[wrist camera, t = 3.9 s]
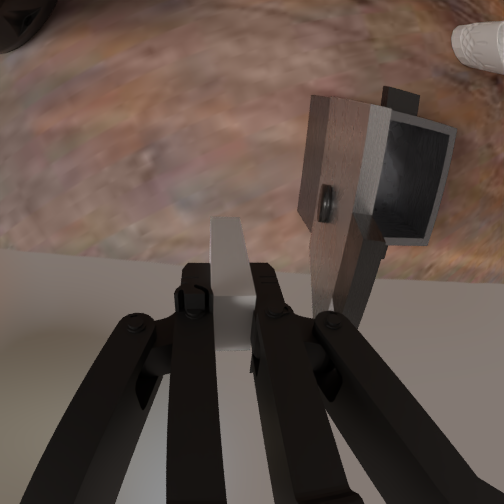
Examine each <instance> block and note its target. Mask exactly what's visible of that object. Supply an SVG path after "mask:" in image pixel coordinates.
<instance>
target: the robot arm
mask: <svg viewBox="0 0 504 504" xmlns="http://www.w3.org/2000/svg"><path fill="white" fill-rule="evenodd" d="M56 2H57V0H0V54H2V53H7V52H10V51H12V50H14V49H16V48H18V47H20V46H21V45H23V44H24V43H25V42H27V41H28V40H29V39H30V38H31V37H32V36H33V35H34V34H35V33H36V32H37V31H38V30H39V29H40V28H41V27H42V25H43V24H44V23H45V21H46V20H47V19H48V17H49V15H50V14H51V12H52V10H53V9H54V7H55V4H56ZM174 298H175V311H176V312H175V313H174V314H173V315H171V316H169V317H167V318H164V319H161V320H156V321H154V319H153V318H151V317H150V316H149V315H147V314H144V313H133V314H129V315H127V316H125V317H123V318H122V319H121V320H120V321H119V323H118V324H117V326H116V327H115V329H114V331H113V332H112V334H111V335H110V337H109V338H108V340H107V342H106V343H105V345H104V346H103V348H102V350H101V351H100V353H99V355H98V356H97V358H96V360H95V361H94V363H93V365H92V366H91V368H90V370H89V371H88V373H87V375H86V377H85V378H84V380H83V381H82V383H81V385H80V387H79V388H78V390H77V392H76V394H75V395H74V397H73V399H72V401H71V402H70V404H69V406H68V408H67V410H66V412H65V413H64V415H63V417H62V419H61V421H60V422H59V425H58V426H57V428H56V430H55V432H54V434H53V436H52V438H51V440H50V442H49V444H48V445H47V447H46V450H45V451H44V453H43V455H42V457H41V459H40V461H39V463H38V465H37V467H36V469H35V471H34V474H33V476H32V478H31V480H30V482H29V484H28V486H27V489H26V491H25V493H24V495H23V497H22V500H21V502H20V504H115V502H116V499H117V496H118V494H119V491H120V488H121V485H122V483H123V480H124V477H125V474H126V472H127V469H128V466H129V463H130V461H131V458H132V455H133V453H134V450H135V447H136V444H137V442H138V439H139V437H140V434H141V432H142V429H143V426H144V424H145V421H146V419H147V416H148V413H149V411H150V409H151V406H152V404H153V401H154V398H155V396H156V393H157V391H158V388H159V386H160V383H161V381H162V378H163V375H165V374H169V373H170V386H169V404H168V425H167V461H166V504H227V499H226V489H225V479H224V469H223V458H222V446H221V434H220V421H219V407H218V392H217V377H216V359H215V351H240V350H241V351H245V350H250V346H252V358H251V367H250V373H253V375H254V382H255V388H256V395H257V401H258V407H259V413H260V420H261V426H262V432H263V438H264V444H265V450H266V456H267V462H268V468H269V474H270V479H271V485H272V491H273V497H274V502H275V504H364V502H363V500H362V498H361V497H360V495H359V494H358V493H356V492H354V491H352V490H351V489H350V487H349V485H348V482H347V479H346V475H345V472H344V468H343V465H342V462H341V459H340V455H339V452H338V449H337V445H336V442H335V439H334V436H333V433H332V430H331V426H330V423H329V420H328V417H327V413H326V411H327V412H328V414H329V416H330V417H331V419H332V420H333V422H334V423H335V425H336V427H337V428H338V430H339V431H340V433H341V434H342V436H343V437H344V439H345V441H346V442H347V444H348V445H349V447H350V448H351V450H352V451H353V453H354V455H355V456H356V458H357V459H358V461H359V462H360V464H361V465H362V467H363V468H364V470H365V471H366V473H367V475H368V476H369V478H370V479H371V481H372V482H373V484H374V485H375V487H376V488H377V490H378V491H379V493H380V494H381V496H382V497H383V499H384V501H385V502H386V504H504V493H503V492H501V491H499V490H497V489H496V488H494V487H493V486H491V485H490V484H488V483H486V482H485V481H483V480H481V479H480V478H478V477H477V476H476V474H475V473H474V472H473V470H472V469H471V468H470V467H469V465H468V464H467V463H466V461H465V460H464V459H463V458H462V456H461V455H460V454H459V452H458V451H457V450H456V449H455V447H454V446H453V445H452V444H451V443H450V441H449V440H448V438H447V437H446V436H445V435H444V433H443V432H442V431H441V430H440V429H439V427H438V426H437V425H436V424H435V422H434V421H433V420H432V419H431V417H430V416H429V415H428V414H427V412H426V411H425V410H424V409H423V408H422V406H421V405H420V404H419V403H418V402H417V400H416V399H415V398H414V397H413V395H412V394H411V393H410V392H409V391H408V389H407V388H406V387H405V386H404V384H403V383H402V382H401V381H400V380H399V378H398V377H397V376H396V375H395V373H394V372H393V371H392V370H391V369H390V368H389V366H388V365H387V364H386V363H385V362H384V361H383V359H382V358H381V357H380V356H379V354H378V353H377V352H376V351H375V350H374V349H373V347H372V346H371V345H370V344H369V343H368V342H367V340H366V339H365V338H364V337H363V336H362V334H361V333H360V332H359V331H358V330H357V329H356V327H355V326H354V325H353V324H352V323H351V322H350V320H349V319H348V318H347V317H345V316H344V315H343V314H341V313H339V312H336V311H323V312H320V313H318V315H317V316H316V317H315V319H311V318H306V317H302V316H298V315H296V314H294V312H293V310H292V309H291V307H290V306H288V305H287V304H286V303H285V301H284V298H283V295H282V292H281V289H280V286H279V283H278V280H277V278H276V273H275V270H274V268H272V267H271V266H270V265H269V264H268V263H249V259H248V254H247V250H246V245H245V240H244V235H243V231H242V226H241V221H240V217H211V219H210V263H187V265H186V266H185V267H184V268H183V270H182V278H181V286H179V287H178V288H177V289H176V290H175V293H174ZM325 409H326V410H325Z"/></svg>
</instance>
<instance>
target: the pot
mask: <svg viewBox="0 0 504 504" xmlns="http://www.w3.org/2000/svg"><path fill="white" fill-rule="evenodd" d="M330 99H331V98H329V97H323V96H316V95H311V103H310V112H309V121H308V130H307V139H306V147H305V155H304V163H303V171H302V179H301V187H300V194H299V202H298V209H297V211H298V213H299V215H300V216H301V218H302V219H303V221H304V223H305V224H306V226H307V227H308V229H309V231H310V232H312V226H313V220H314V212H315V206H316V200H317V193H318V187H319V180H320V173H321V166H322V159H323V152H324V145H325V137H326V132H327V124H328V116H329V107H330ZM419 99H420V95H417V94H413V93H410V92H407V91H403V90H400V89H396V88H392V87H388V86H383V93H382V100H381V106H383V107H387V108H391V109H392V111H391V118H390V125H389V131H388V137H387V143H386V149H385V154H384V160H383V165H382V170H381V175H380V180H379V185H378V190H377V195H376V199H375V204H374V208H373V213H372V217H373V218H374V220H375V222H376V224H377V226H378V228H379V230H380V231H381V233H382V235H383V237H384V239H385V241H386V244H385V248H384V251H383V255H382V258H381V259H384V258H385V255H386V251H387V248H388V245H404V246H427V245H428V242H429V239H430V236H431V233H432V230H433V227H434V223H435V220H436V217H437V213H438V210H439V206H440V203H441V199H442V195H443V191H444V187H445V184H446V179H447V175H448V171H449V167H450V162H451V158H452V153H453V148H454V143H455V138H456V132H457V128H454V127H451V126H448V125H445V124H442V123H439V122H435V121H432V120H429V119H425V118H422V117H418V116H417V113H418V106H419Z"/></svg>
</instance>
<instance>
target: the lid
mask: <svg viewBox="0 0 504 504" xmlns="http://www.w3.org/2000/svg"><path fill="white" fill-rule="evenodd" d="M391 111H392V109H391V108H387V107H383V106H378V105H374V104H369V103H364V102H360V101H355V100H349V99H344V98H338V97H332V96H331V99H330V107H329V116H328V124H327V132H326V137H325V145H324V152H323V159H322V166H321V173H320V180H319V187H318V193H317V200H316V206H315V212H314V220H313V226H312V232H311V237H310V243H309V256H310V273H311V291H312V313H313V319H315V317H316V316H317V315H318V313H320V312H323V311H336V312H339V313H341V314H343V315H344V316H345V317H347V318H348V319H349V320H350V322H351V323H352V324H353V325H354V326H355V327H356V329H358V327H359V324H360V321H361V318H362V316H363V313H364V310H365V307H366V304H367V302H368V298H369V296H370V293H371V290H372V286H373V284H374V280H375V277H376V274H377V271H378V268H379V265H380V261H381V258H382V255H383V251H384V248H385V244H386V241H385V239H384V237H383V235H382V233H381V231H380V230H379V228H378V226H377V224H376V222H375V220H374V218H373V217H372V213H373V208H374V204H375V199H376V195H377V190H378V185H379V180H380V175H381V170H382V165H383V160H384V154H385V149H386V143H387V137H388V131H389V125H390V118H391Z"/></svg>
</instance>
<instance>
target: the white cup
mask: <svg viewBox="0 0 504 504" xmlns="http://www.w3.org/2000/svg"><path fill="white" fill-rule="evenodd" d="M451 41H452V48H453V50H454V53H455V55H456V57H457V58H458V59H459V61H460V62H461V63H462V64H464V65H466V66H468V67H471V68H477V69H480V70H484V71H489V72H492V73H497V74H501V75H504V21H491V22H479V23H472V24H469V25H460V26H457V27H456V28H455V29H454V30H453V33H452V37H451Z"/></svg>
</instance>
